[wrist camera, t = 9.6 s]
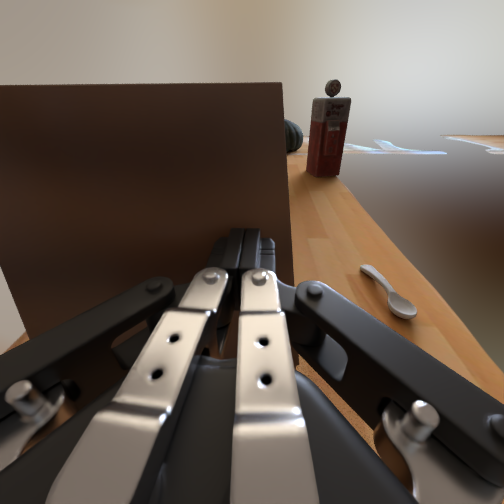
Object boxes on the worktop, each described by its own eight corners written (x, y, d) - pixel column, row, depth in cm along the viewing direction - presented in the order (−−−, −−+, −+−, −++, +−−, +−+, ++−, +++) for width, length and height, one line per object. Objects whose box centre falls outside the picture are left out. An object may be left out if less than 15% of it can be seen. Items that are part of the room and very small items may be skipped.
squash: (310, 140, 120) (301, 112, 122) (282, 144, 116) (273, 115, 118) (299, 156, 133) (291, 131, 135) (273, 160, 129) (265, 134, 131)
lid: (-55, 93, 10) (-74, 85, 9) (276, 87, 13) (282, 81, 12) (73, 421, 14) (67, 434, 13) (294, 357, 17) (299, 365, 16)
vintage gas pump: (318, 178, 85) (330, 78, 70) (305, 170, 94) (314, 80, 79) (342, 176, 86) (359, 78, 71) (327, 169, 95) (340, 80, 80)
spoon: (397, 324, 31) (402, 312, 30) (354, 272, 41) (356, 262, 40) (420, 323, 31) (425, 310, 30) (371, 271, 41) (374, 261, 41)
